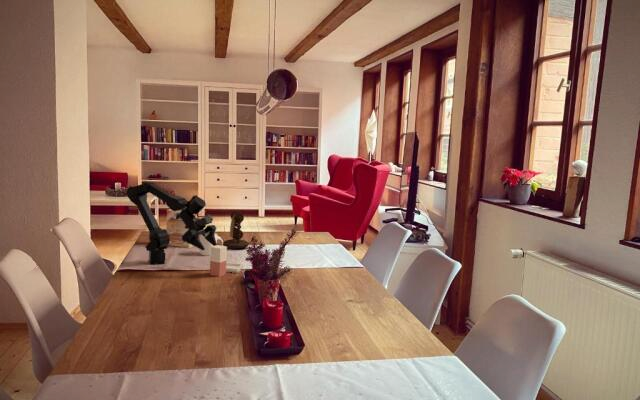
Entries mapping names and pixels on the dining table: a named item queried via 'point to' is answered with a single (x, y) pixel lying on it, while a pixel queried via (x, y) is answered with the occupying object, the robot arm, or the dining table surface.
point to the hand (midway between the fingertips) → (210, 247)
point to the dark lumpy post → (236, 232)
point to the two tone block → (218, 260)
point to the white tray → (233, 267)
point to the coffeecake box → (176, 229)
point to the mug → (208, 245)
